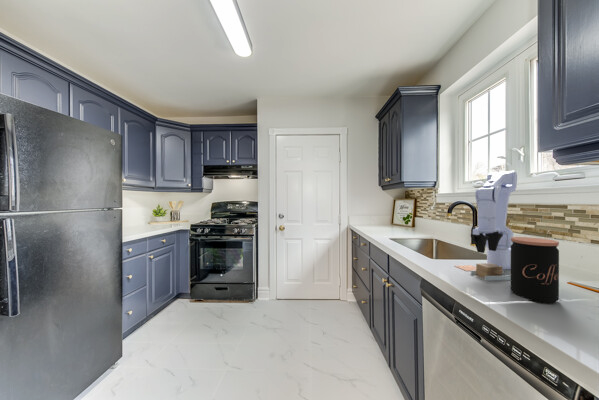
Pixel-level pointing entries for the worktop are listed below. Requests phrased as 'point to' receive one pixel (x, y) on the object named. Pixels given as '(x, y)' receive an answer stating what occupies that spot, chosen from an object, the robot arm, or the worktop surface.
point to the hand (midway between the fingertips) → (486, 251)
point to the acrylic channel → (505, 277)
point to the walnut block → (488, 270)
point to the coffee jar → (535, 269)
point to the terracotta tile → (467, 267)
